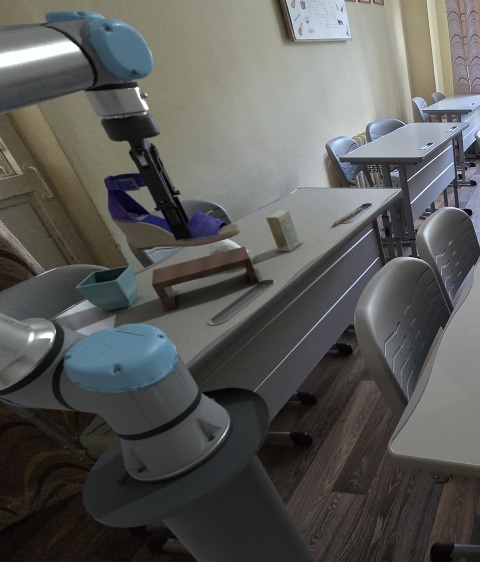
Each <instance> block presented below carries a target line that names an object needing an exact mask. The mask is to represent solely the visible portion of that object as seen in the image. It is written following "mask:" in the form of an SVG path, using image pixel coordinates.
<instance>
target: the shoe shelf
mask: <svg viewBox="0 0 480 562" xmlns="http://www.w3.org/2000/svg"><path fill="white" fill-rule="evenodd" d="M246 250H247V248H246V246H241V247H240V248H236V249H233V250H229V251H225V252H221V253H217V254H213V255H211V254H209V255H206V256H201V257H198V258H195V259H190V260H187V261H183V262H178V263H174V264H171V265H167V266H163V267H159V268H155V269H153V270H152V278H151V286H152V289H154V291H155V293H156V295H157V297H158V298H159V300H160V301H161V303H162V305H163V307H164V309H165V310H166V311H170V310H173V309H175V308H176V292H175V290H174V289H173V286H177V285H181V284H184V283H187V282H191V281H194V280H198V279H199V280H200V279H202V278H205V277H210V276H213V275H216V274H220V273H224V272H227V271H230V270H234V269H239V268H241V267H244V268H245V271H246V273H247V276H248V278H249V280H250V283H251V284H252V285H253V286H254V285H256V284H259V283H260V280H259V278H258V275H257V272H256V269H255V268H254V265H253V262H252V263H251V260H250V258H249V255H248V253H247V251H246Z"/></svg>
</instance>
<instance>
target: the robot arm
mask: <svg viewBox="0 0 480 562" xmlns="http://www.w3.org/2000/svg"><path fill="white" fill-rule="evenodd" d="M44 19H45V22H34V23H22V24H0V116H2V115H5V114H9V113H12V112H14V111H15V112H16V111H19V110H21V109H25V108H29V107H32V106H35V105H38V104H42V103H45V102H48V101H51V100H55V99H58V98H61V97H66V96H68V95H72V94H74V93H78V92H81V91H83V93H84V95H85V97H86V99H87V101H88V103H89V105H90V106H91V108H92V110H93V112H94V114H95V116H98V117H101V118H102V119H100V124H101V127H102V128H103V130H104V131H105V134H106V135H107V137H108V139H109V140H110V141H112V142H119V143H121V142H128V145H129V147H130V148H129V150H128V155H129V157H130V158H131V160H132V162H134V164H135V166H136V168H137V171H138V173H140V174H141V176H142V178H143V180H144V182H145V184H146V186H145V187H146V188H147V189H148V192H149V194H150V195H151V198H152V200H153V202H154V204H155V207H153V210H154V211H155V212H159V211H160V213H161V214H162V217H163V218H165V220H166V222H167V224H168V226H169V228H170V230H171V232H172V233H173V235H174V237H175V239H176V241H177V240H181V239H185V238H189V237H192V235H191V233H190V231H189V229H188V227H187V225H186V224H187V223H188V222H189V220H190V219H189V217H188V214H187V213H186V210H185V209H184V207H183V204H182V203H181V200H180V198H179V196H180V195H182V194H181V191H180V190H178V189H177V190H176V187H175V186H174V184H173V182H172V180H171V178H170V176H169V174H168V172H167V170H166V168H165V167H164V162H163V160H162V159H161V157H160V153H159V149H158V148H157V146H156V145H155V144H154V143H153V142H150V141H149V139H150V138H155V137H157V136H160V134H161V130H160V128H159V126H158V123H157V122H156V120H155V118H154V115H152V114H151V113H147V112H148V111H149V110H150V107H149V106H148V103H147V101H146V99H148V97H149V95H148V94H147V93H146V92H144V91H141V87H139V83H138V82H137V80H143V79H145V78H147V77H148V76H149V75H150V74H151V73H152V71H153V68H154V56H153V53H152V50H151V49H150V47H149V44H148V43H147V41H146V39H145V38H144V37H143V35H142V34H141V33H140V32H139V31H138V30H137V29H135V28H134V26H132V25H130V24H128V23H126V22H125V21H122V20H120V19H117V18H106V17H105V16H104V15H102V14H100V13H99V12H95V11H85V10H84V11H83V10H82V11H81V10H77V11H75V10H59V11H58V10H57V11H56V10H55V11H49V12H46V13H45V14H44ZM140 91H141V92H140ZM201 392H202V391H201V390H200V388H199V386H198V384H197V383H196V381H195V379H194V378H193V376H192V374H191V372H190V371H189V369H188V368H187V366H186V364H185V363H184V360H183V359H182V357H181V356H180V354H179V352H178V348H177V346H176V345H175V343H174V342H172V340H171V339H170V338H169V337H168V336H167V334H166V333H165V332H164V331H163V330H162V329H160V328H158V327H156V326H153V325H151V324H145V323H127V324H120V325H119V326H117V327H114V326H110V327H106V328H104V329H100V330H98V331H96V332H93V333H90V334H89V335H88V334H84V333H81V332H77V331H75V330H73V329H71V328H69V327H66V326H63V325H60V324H58V323H56V322H55V321H51V320H49V319H46V318H42V317H31V318H25V319H22V320H19V319H16V318H14V317H10V316H8V315H5V314H3V313H1V312H0V401H2V402H3V403H7V404H8V405H12V406H15V407H20V408H26V409H48V410H60V411H71V412H80V413H91V414H97V415H99V416H101V417H102V418H103V419H104V421H105V422H106V423H107V424H108V426H109V427H110V428H111V429H112V430H113V432H115V434H116V435H117V436H118V438H119V437H120V440H121V447H122V453H123V459H124V465H125V468H126V472H125V474H124V475H123V476H122V477H121V478H120V479H119V480H118V482H117V483H118V484H121V485H123V484H124V483H125V481H126V480H127V479H128V478H129V477H130V476H131V477H132V478H133V479H134V480H135V481H137V482H139V483H142V484H148V485H151V484H161V483H165V482H169V481H172V480H175V479H178V478H180V477H182V476H185V475H187V474H189V473H190V472H192V471H194V470H196V469H197V468H199V467H200V466H202V465H203V464H205V463H206V462H207V461H209V460H210V459H211V458H212V457H213V456H214V455H215V454H217V453H218V452H219V450H220V449H221V448H222V447H223V446H224V444H225V443H226V442H227V440H228V438H229V436H230V434H231V432H232V427H233V422H232V419H231V417H230V415H229V414H228V412H227V411H226V410H225V409H224V408H223V407H222V406H220V405H219V404H217V403H216V402H215V400H214V398H212V399H210V398H208V397H207V396H205V395H204V394H202V393H201Z"/></svg>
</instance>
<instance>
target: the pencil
mask: <svg viewBox="0 0 480 562" xmlns="http://www.w3.org/2000/svg"><path fill="white" fill-rule="evenodd" d="M360 211H361V207H357V208H355V209H354V210H353V211H351V212H349V213H348V214H346V215H344V216H343V217H341V218H340V219H338V220H336V221H335V222H334V223H333V224H332V227H335V226H337V225H339V224H340V223H342V222H344V221H345V220H347V219H349V218H350V217H352V216H353V215H355V214H357V213H358V212H360Z"/></svg>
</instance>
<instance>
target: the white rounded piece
mask: <svg viewBox="0 0 480 562" xmlns="http://www.w3.org/2000/svg"><path fill="white" fill-rule="evenodd" d="M240 247H242V246H240V245H238V244H237V243H236V242H235V241H233V240H232V239H231V240H230V239H229V238H228V239H225V240H221V241H218V242H214V243H210V244H208V249H209V251H208V253H209V255H213V254H217V253H221V252H225V251H229V250H233V249H236V248H240ZM246 251H247V253H248V255H249V258H250V260H251V263H252V264H253V261H254V259H255V254H254V252H253V251H251V250H249V249H246Z"/></svg>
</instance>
